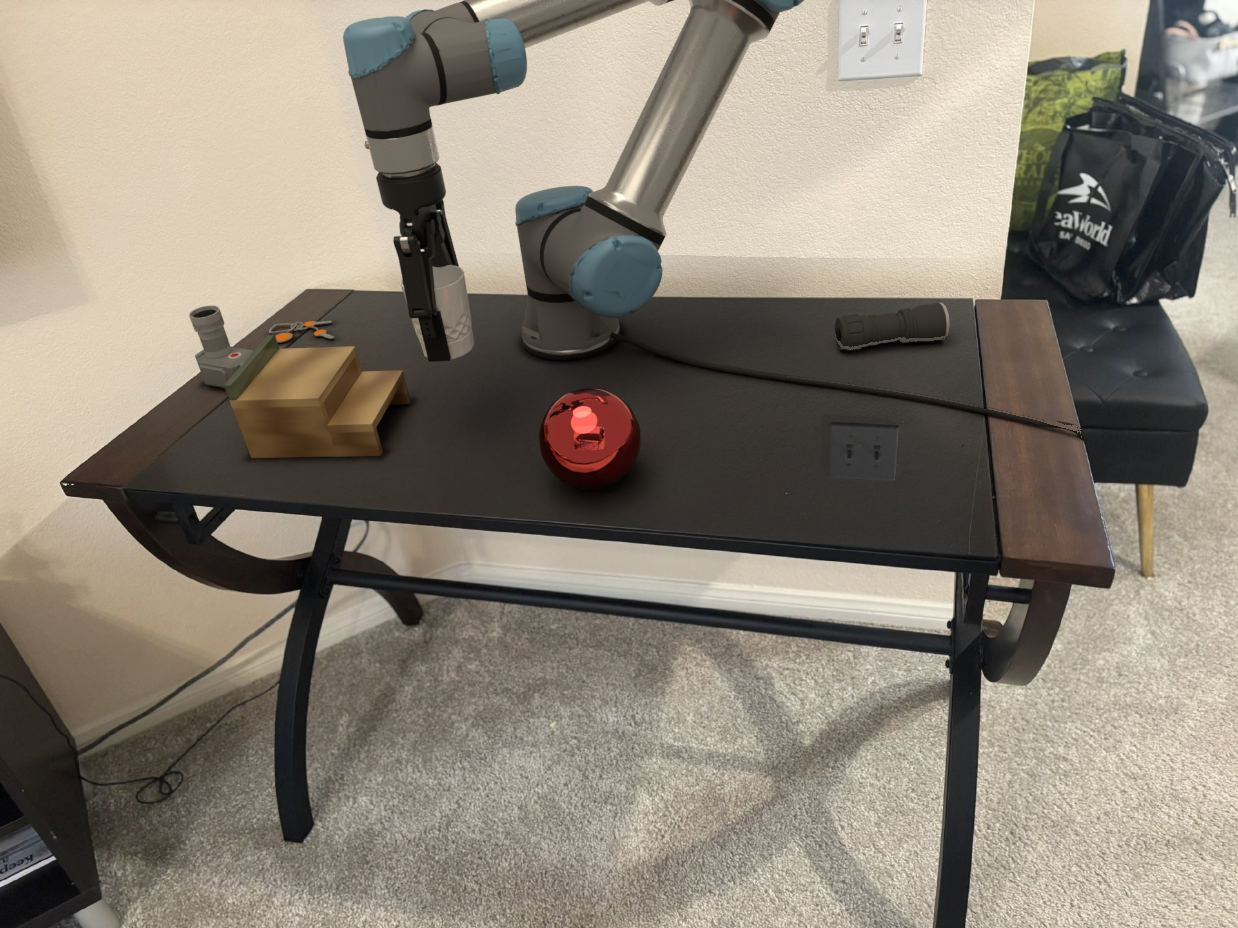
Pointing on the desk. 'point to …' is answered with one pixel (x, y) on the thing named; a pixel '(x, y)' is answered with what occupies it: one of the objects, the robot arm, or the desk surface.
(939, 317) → the flashlight
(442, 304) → the white cup
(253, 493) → the desk surface
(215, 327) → the camera
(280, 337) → the key chain
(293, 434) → the shelf stand
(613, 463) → the ball
